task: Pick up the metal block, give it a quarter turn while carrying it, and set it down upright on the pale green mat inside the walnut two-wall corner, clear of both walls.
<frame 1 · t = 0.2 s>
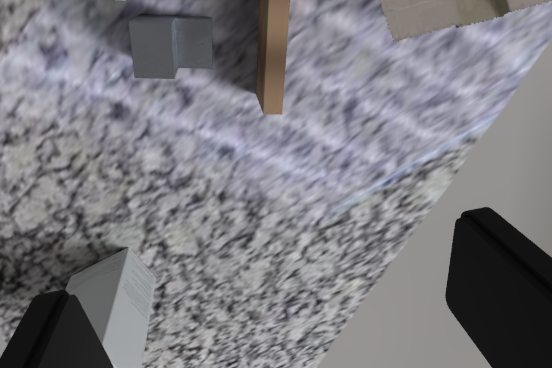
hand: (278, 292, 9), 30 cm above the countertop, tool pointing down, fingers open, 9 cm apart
skincare box: (115, 273, 46), on the countertop
metal block: (178, 40, 34), on the countertop
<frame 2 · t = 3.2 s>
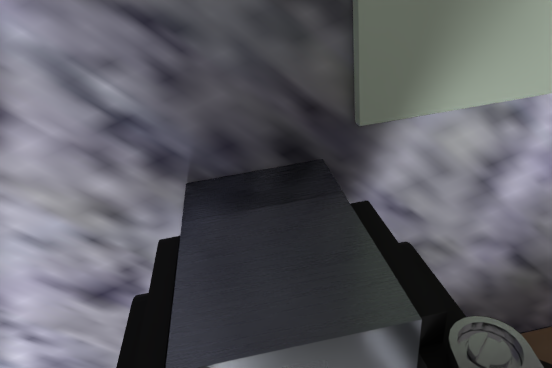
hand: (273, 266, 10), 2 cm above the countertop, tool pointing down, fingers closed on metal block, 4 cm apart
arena: (448, 165, 12), on the countertop
metal block: (268, 251, 12), on the countertop, touching gripper
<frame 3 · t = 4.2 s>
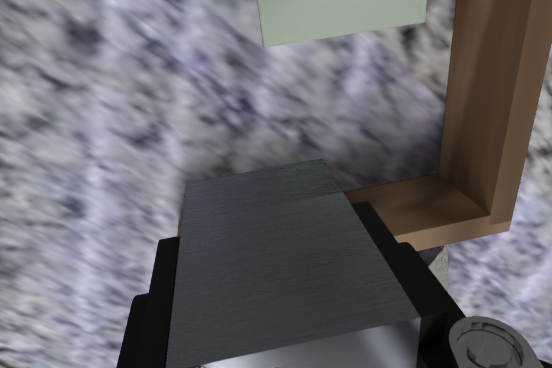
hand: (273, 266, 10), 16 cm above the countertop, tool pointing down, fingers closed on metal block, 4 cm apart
wall: (376, 314, 36), on the countertop
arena: (314, 72, 24), on the countertop
metal block: (268, 250, 12), point 14 cm above the countertop, touching gripper
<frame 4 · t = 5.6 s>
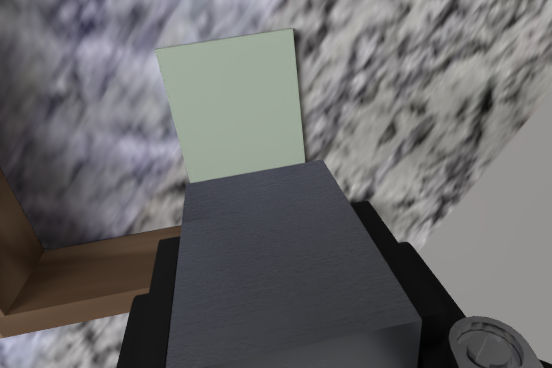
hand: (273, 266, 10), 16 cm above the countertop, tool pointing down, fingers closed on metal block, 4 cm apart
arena: (136, 104, 23), on the countertop
metal block: (268, 251, 12), point 14 cm above the countertop, touching gripper
pad: (238, 119, 25), on the countertop
when the fingers open (3 cm above the countertop, at t = 8.1 s): metal block stays where it is, resting on pad.
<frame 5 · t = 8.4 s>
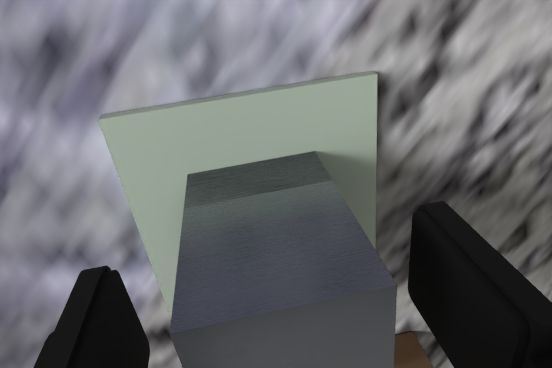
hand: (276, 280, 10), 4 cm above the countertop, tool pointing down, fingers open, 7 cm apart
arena: (70, 215, 12), on the countertop
metal block: (265, 239, 13), resting on pad
pad: (263, 230, 14), on the countertop
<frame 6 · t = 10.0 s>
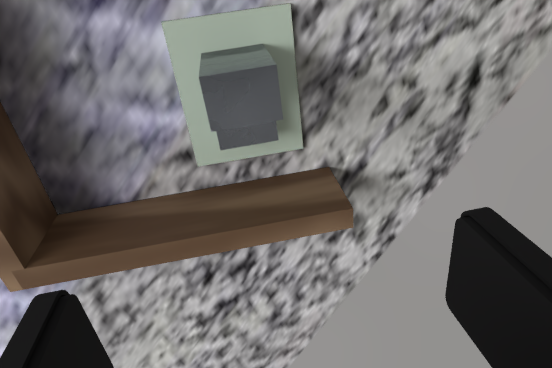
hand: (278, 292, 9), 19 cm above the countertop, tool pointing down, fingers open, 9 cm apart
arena: (143, 75, 25), on the countertop
metal block: (240, 93, 26), resting on pad
pad: (239, 90, 26), on the countertop
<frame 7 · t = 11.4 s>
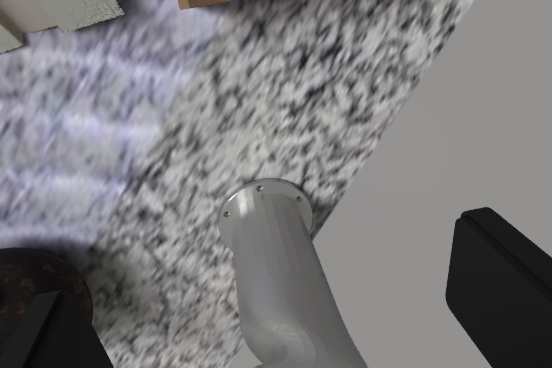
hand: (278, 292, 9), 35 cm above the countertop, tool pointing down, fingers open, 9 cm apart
glass bottle: (32, 279, 50), on the countertop
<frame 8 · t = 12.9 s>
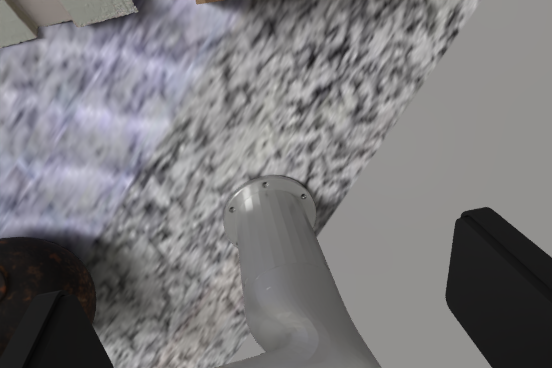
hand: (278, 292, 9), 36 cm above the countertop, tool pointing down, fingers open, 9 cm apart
glass bottle: (36, 271, 51), on the countertop
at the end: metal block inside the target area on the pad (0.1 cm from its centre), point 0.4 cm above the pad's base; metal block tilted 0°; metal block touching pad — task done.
